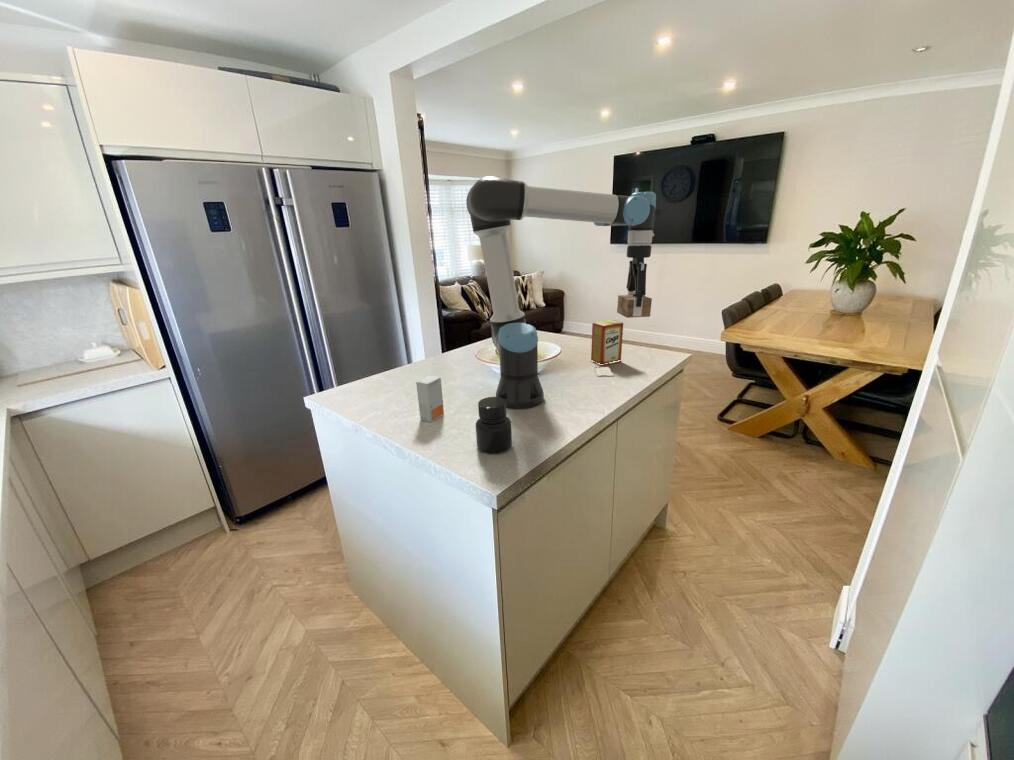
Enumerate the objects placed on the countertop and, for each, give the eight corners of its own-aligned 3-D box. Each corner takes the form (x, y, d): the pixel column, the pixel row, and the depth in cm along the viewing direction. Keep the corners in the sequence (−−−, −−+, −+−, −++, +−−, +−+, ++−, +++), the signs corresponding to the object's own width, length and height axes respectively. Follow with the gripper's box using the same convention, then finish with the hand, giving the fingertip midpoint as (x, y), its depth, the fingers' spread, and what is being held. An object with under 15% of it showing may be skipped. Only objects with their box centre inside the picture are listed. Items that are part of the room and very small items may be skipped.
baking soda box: (601, 365, 154) (603, 325, 148) (591, 361, 159) (592, 321, 154) (620, 361, 157) (623, 321, 152) (610, 357, 163) (612, 318, 157)
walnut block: (649, 316, 133) (651, 298, 131) (626, 317, 133) (628, 299, 130) (638, 311, 142) (640, 294, 140) (616, 312, 141) (618, 295, 139)
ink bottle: (514, 437, 104) (513, 394, 100) (513, 455, 96) (511, 409, 92) (477, 437, 105) (474, 395, 100) (473, 455, 97) (469, 410, 92)
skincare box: (431, 423, 113) (426, 384, 109) (420, 420, 116) (415, 381, 111) (445, 414, 118) (441, 377, 114) (434, 412, 120) (430, 374, 116)
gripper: (661, 245, 118) (653, 319, 126) (643, 243, 139) (637, 307, 147) (635, 246, 119) (629, 320, 127) (621, 243, 140) (616, 307, 148)
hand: (633, 313), depth 137 cm, fingers closed on walnut block, 10 cm apart
